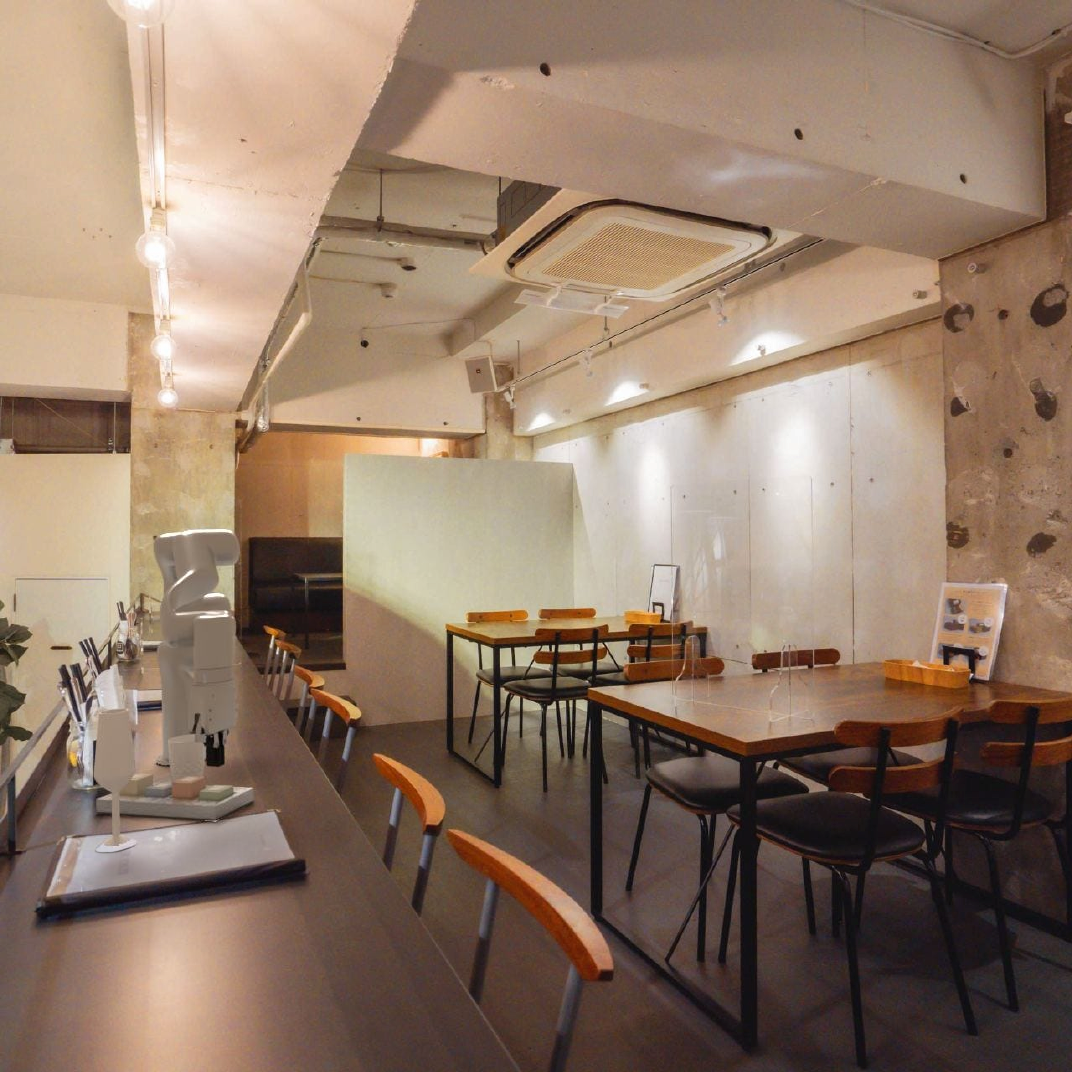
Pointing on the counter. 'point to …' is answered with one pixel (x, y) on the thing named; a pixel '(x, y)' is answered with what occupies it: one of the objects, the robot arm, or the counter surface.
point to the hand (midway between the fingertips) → (215, 765)
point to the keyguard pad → (177, 806)
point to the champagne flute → (114, 762)
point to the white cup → (186, 757)
